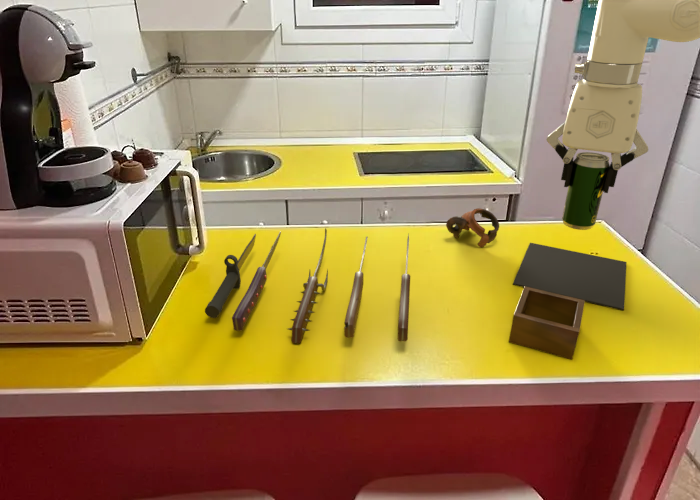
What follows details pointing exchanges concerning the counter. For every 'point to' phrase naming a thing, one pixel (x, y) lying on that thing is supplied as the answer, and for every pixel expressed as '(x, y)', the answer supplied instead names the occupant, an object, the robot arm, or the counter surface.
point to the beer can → (585, 190)
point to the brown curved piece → (474, 225)
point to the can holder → (547, 322)
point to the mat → (574, 275)
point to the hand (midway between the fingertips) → (586, 186)
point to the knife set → (309, 295)
